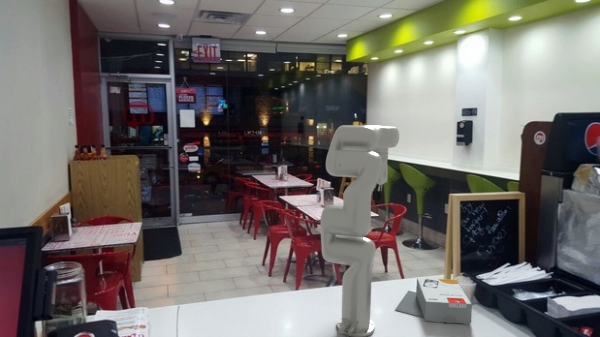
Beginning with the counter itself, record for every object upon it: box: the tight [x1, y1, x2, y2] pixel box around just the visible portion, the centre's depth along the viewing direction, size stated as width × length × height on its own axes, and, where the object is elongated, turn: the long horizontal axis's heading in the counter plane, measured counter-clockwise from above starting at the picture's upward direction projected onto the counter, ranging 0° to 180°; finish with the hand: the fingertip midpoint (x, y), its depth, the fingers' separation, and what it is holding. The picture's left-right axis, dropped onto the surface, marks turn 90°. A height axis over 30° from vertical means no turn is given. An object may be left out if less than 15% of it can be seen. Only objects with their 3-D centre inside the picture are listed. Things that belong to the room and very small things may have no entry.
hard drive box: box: [415, 277, 473, 324], centre depth 147 cm, size 16×8×20 cm
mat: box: [394, 290, 448, 325], centre depth 150 cm, size 18×18×1 cm
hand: (377, 199), depth 168 cm, fingers closed
